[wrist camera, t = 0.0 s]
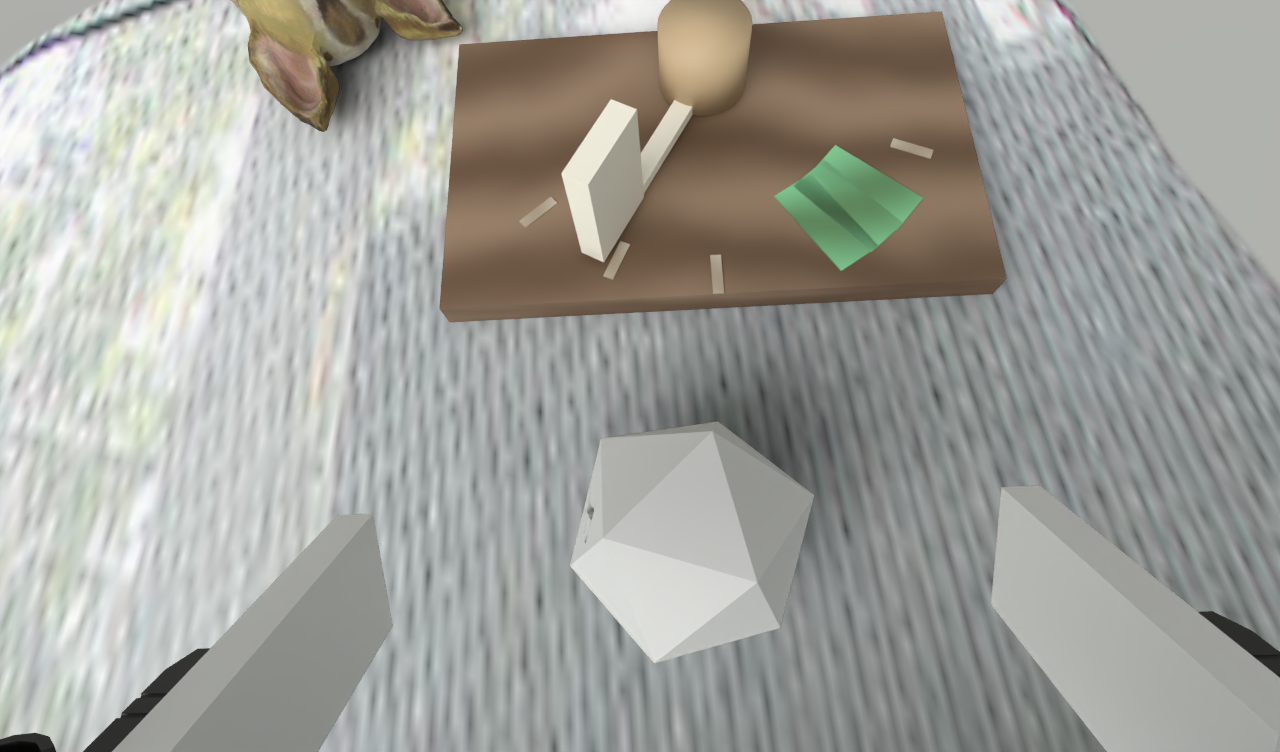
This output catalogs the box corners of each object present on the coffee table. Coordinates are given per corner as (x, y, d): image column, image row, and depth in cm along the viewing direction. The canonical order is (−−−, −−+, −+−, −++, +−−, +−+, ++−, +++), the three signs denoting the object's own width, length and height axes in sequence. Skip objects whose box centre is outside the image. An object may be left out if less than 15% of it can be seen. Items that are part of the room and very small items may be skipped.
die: (697, 409, 32) (545, 386, 25) (873, 462, 27) (745, 452, 20) (655, 578, 33) (492, 604, 25) (821, 665, 27) (675, 730, 20)
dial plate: (992, 293, 33) (1007, 277, 32) (449, 322, 34) (439, 308, 33) (932, 34, 39) (942, 10, 37) (467, 65, 40) (459, 43, 38)
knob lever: (633, 276, 32) (624, 200, 27) (552, 239, 33) (526, 158, 27) (759, 65, 36) (774, -40, 30) (683, 37, 37) (684, -70, 31)
